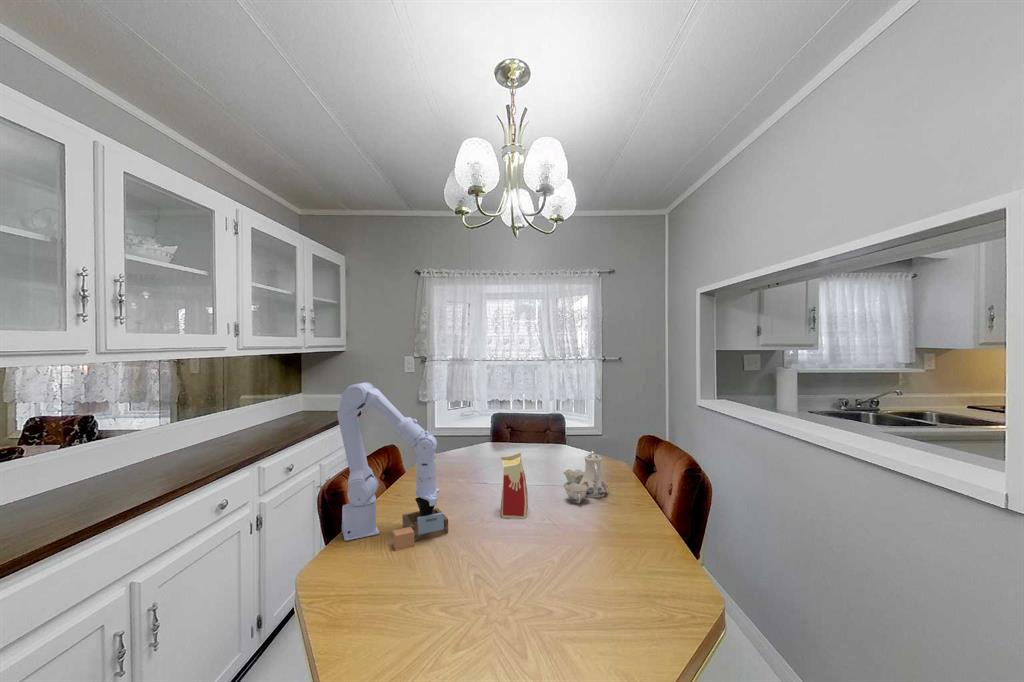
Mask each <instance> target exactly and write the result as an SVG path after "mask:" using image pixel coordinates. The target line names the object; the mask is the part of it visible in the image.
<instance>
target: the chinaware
mask: <svg viewBox="0 0 1024 682" xmlns="http://www.w3.org/2000/svg"><path fill="white" fill-rule="evenodd" d="M583 459H584V461H585V466H584V467H585V468H584V471H582V470H580V469H575V470H572V469H567V470H565V471H564V472H563V474H564V476H565V478H566V481H567V483H569V484H564V489H565V492H566V494H567V495H566V496H567V497H568V498H569V499H570V500H571V502H572V503H574V504H580V503H581V502H582V500H584V499H585V497H587V498H591V499H598V498H602V497H604V496H605V493H606V491H607V490H608V487H609V486H608V483H607V482H606V480H605V479H604V476H603V474H602V470H601V460H602V457H601V456H598V455H597V454H596V453H595V451H594V450H591V452H590V453H588V455H587V456H586V455H585V456H584V457H583Z"/></svg>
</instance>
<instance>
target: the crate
mask: <svg viewBox="0 0 1024 682" xmlns="http://www.w3.org/2000/svg"><path fill="white" fill-rule="evenodd" d="M437 513H442V511H441V510H440V509H439V507H434V509H433V512H432V514H437ZM417 517H421V515H420V510H418V511H412V512H408V513H403V514H402V528H407V527H411V528H412V529H413V531H414V541H416V540H423V539H426V538H431V537H436V536H439V535H443V534H448V533H449V518H448V517H447V516H446V514H444V529H442V530H438V531H433V532H429V533H424V534H420V535H418V534H417Z"/></svg>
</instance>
